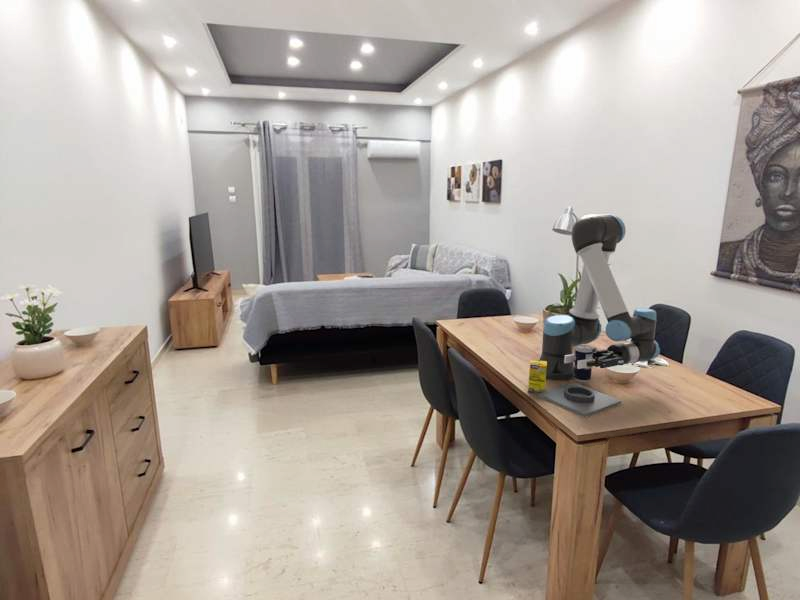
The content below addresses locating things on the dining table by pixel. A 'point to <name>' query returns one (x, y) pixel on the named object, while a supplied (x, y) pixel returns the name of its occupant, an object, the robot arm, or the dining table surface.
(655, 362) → the cloth
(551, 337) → the robot arm
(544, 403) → the dining table surface
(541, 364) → the supplement box
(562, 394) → the ring socket
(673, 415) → the dining table surface
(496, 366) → the dining table surface
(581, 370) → the beverage can
